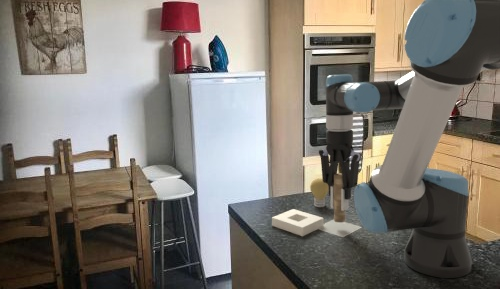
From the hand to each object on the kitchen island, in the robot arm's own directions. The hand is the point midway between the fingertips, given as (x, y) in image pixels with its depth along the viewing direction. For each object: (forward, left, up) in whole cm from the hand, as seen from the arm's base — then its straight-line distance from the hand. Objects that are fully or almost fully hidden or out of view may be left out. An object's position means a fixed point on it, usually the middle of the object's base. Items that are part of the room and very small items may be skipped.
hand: (339, 207), depth 124 cm
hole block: (+11, +7, -7) cm, 14 cm away
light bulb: (+17, -12, -7) cm, 22 cm away
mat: (+1, 0, -7) cm, 7 cm away
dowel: (0, 0, -4) cm, 4 cm away
